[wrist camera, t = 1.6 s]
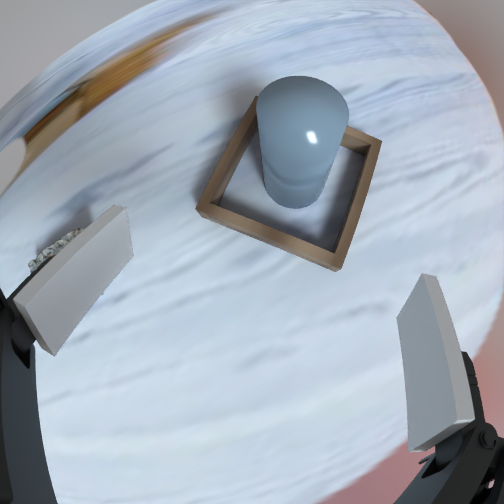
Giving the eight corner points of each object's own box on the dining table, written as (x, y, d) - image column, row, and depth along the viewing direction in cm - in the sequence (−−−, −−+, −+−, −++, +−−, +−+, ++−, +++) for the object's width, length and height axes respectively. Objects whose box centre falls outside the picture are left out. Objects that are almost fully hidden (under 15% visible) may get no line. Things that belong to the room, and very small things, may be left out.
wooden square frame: (201, 216, 29) (195, 209, 26) (257, 109, 30) (256, 95, 28) (335, 271, 27) (341, 268, 24) (375, 152, 28) (382, 140, 26)
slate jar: (254, 195, 29) (240, 127, 17) (277, 147, 29) (276, 67, 18) (311, 217, 28) (334, 160, 16) (331, 167, 28) (357, 93, 17)
